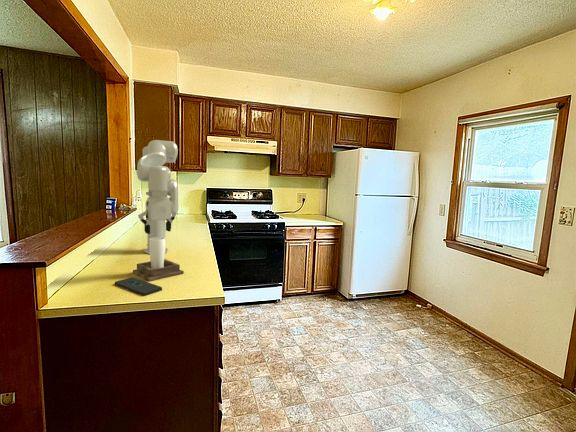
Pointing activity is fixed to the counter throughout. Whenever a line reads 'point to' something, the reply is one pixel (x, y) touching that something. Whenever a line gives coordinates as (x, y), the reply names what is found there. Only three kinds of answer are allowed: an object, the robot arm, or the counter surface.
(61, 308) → the counter surface
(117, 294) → the counter surface
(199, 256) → the counter surface
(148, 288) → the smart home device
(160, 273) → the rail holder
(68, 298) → the counter surface
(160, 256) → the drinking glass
